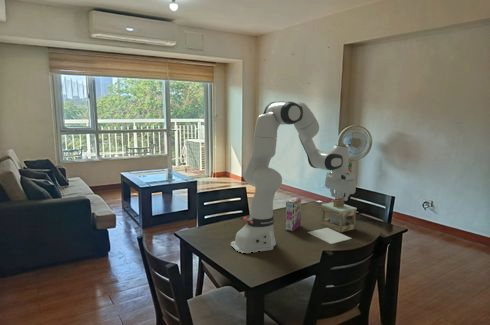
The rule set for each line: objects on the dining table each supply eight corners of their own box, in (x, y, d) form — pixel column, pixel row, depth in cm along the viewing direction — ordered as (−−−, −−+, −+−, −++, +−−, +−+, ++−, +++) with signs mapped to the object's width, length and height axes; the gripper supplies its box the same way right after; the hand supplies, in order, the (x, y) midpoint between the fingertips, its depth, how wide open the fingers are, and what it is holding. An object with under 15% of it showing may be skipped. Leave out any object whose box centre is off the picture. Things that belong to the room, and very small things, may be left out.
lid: (340, 214, 177) (341, 205, 176) (321, 207, 191) (321, 198, 190) (356, 211, 183) (357, 202, 182) (336, 204, 196) (336, 195, 196)
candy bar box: (293, 231, 181) (293, 202, 179) (285, 230, 184) (285, 201, 181) (301, 225, 191) (301, 197, 188) (292, 224, 193) (293, 196, 191)
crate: (340, 232, 179) (341, 212, 178) (321, 224, 192) (321, 206, 191) (355, 229, 184) (355, 209, 183) (335, 221, 198) (336, 203, 196)
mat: (330, 244, 164) (330, 243, 164) (307, 232, 179) (307, 232, 179) (351, 239, 170) (351, 238, 170) (327, 228, 186) (327, 227, 186)
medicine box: (344, 225, 190) (344, 211, 189) (345, 228, 186) (346, 213, 184) (330, 225, 191) (330, 210, 190) (331, 228, 187) (331, 213, 185)
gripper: (322, 171, 191) (322, 195, 193) (349, 177, 174) (348, 203, 176) (331, 170, 194) (330, 193, 196) (358, 176, 176) (357, 201, 179)
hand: (339, 198), depth 186 cm, fingers open, 8 cm apart
